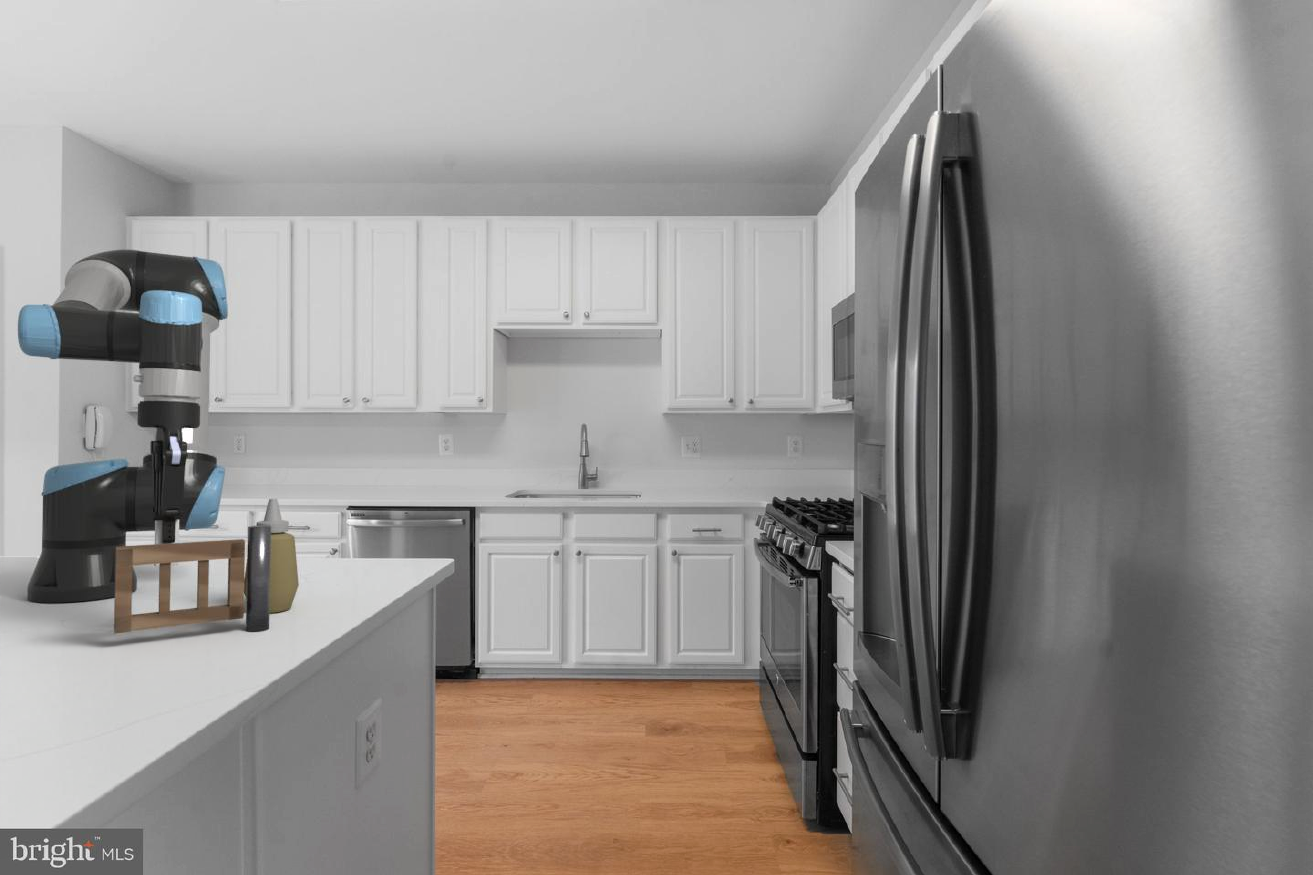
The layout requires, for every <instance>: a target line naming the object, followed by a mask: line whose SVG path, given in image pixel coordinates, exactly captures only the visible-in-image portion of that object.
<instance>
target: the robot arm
mask: <svg viewBox="0 0 1313 875" xmlns="http://www.w3.org/2000/svg"><path fill="white" fill-rule="evenodd" d="M119 310H120V311H119ZM125 311H129V312H125ZM134 312H135V313H134ZM136 312H137V313H136ZM228 314H229V312H228V299H227V288H226V281H225V275H224V271H223V268H222V266H221V265H220V263H218V262H217V261H215V260H212V259H206V258H199V257H198V256H185V255H177V254H168V253H161V252H160V253H159V252H158V253H157V252H151V251H150V252H149V251H142V250H137V249H112V250H106V251H103V252H97V253H95V254H94V253H93V254H92V255H89V256H86V257H83V258H81V259H80V260H79V261H77V262H75V263H74V264H73V265H72V266H71V267H70V268H69V269H68V271H67V272H66V274H65V277H64V289H63V290H62V291H61V293H60V295H59V296H58V297H57V298H56V300H55V301H54V302H53V303H52V305H50V304H46V303H45V304H26V305H23V306H22V307H21V309H20V310H19V313H18V319H17V339H18V345H19V348H20V350H21V352H22V353H23V354H24V355H27V356H29V357H38V358H48V359H50V360H57V359H58V360H79V361H99V362H115V363H117V362H119V363H131V364H134V363H135V364H138V370H139V371H138V374H135V375H134V376H133V381H134V383H139V385H138V396H139V397H140V398H143V400H142V401H139V402H138V403H137V425H138V426H139V427H140V428H151V429H153V430H154V431H153V440H150V448H149V451H148V452H147V453H145V454H144V455H143V458H142V466H130V465H129V462H128V460H127V458H116V459H106V460H104V459H103V460H98V461H97V460H96V461H94V460H93V461H87V462H86V461H85V462H77V463H67V464H61V465H55V466H53V467H50V468H49V469H48V470H46V471H45V473H44V477H43V486H42V487H43V488H42V492H41V494H40V495H41V497H42V523H41V524H42V526H41V528H42V529H41V530H42V531H41V533H42V534H41V553H40V555H39V558H38V561H37V563H36V565H35V568H34V570H33V572H32V574H31V577H30V579H29V582H28V585H27V589H26V590H27V593H26V594H27V595H26V596H27V600H28V601H31V602H34V603H35V602H36V603H74V602H76V603H77V602H87V601H95V600H103V599H110V598H115V554H116V547H120V546H127V545H126V544H127V543H126V542H127V540H126V539H127V533H129V532H131V533H132V532H137V533H139V532H154V544H170V543H180V542H179V541H180V531H181V530H184V531H188V532H189V530H201V529H208V528H211V527H213V526H214V525H215V524H216V522H217V521H218V518H219V517H218V516H219V511H220V505H221V500H222V494H223V488H224V481H225V480H224V479H225V474H226V467H225V466H222V465H218V462H217V461H218V458H217V456H216V455H215V454H214V453H213V452H211V451H210V449H209V408H210V407H209V406H210V405H209V403H210V363H211V362H210V361H211V360H210V359H211V334H212V333H214V331H216V330H218V328H219V327H220V321H223V320H226V319H227V318H228V316H229V315H228ZM153 565H154V566H155V567H158V568H159V565H160V564H153ZM178 565H179V562H174V563H171V566H178ZM137 586H138V578H137V574H136V571H135V569H134V566H133V567H132V593H133V592H136V590H137V588H138V587H137Z"/></svg>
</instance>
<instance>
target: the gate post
mask: <svg viewBox="0 0 1313 875" xmlns="http://www.w3.org/2000/svg"><path fill="white" fill-rule="evenodd" d="M246 557H247V558H246V564H247V600H246V599H245V600H246V601H245V602H246V603H245V604H246V605H245V606H246V607H245V608H246V611H245V614H246V615H245V631H246V632H249V633H256V632H264V631H268V630H269V629H270V613H269V610H270V561H271V526H265V525H261V526H256V525H250V526H248V527H247V556H246Z"/></svg>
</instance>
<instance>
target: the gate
mask: <svg viewBox="0 0 1313 875" xmlns="http://www.w3.org/2000/svg"><path fill="white" fill-rule="evenodd" d="M245 558H246V540H245V539H243V538H241V539H239V538H238V539H224V540H223V539H221V540H206V541H205V540H204V541H193V542H192V541H189V542H179V543H170V544H155V543H154V544H153V543H152V544H142V545H141V544H139V545H126V546H120V547H116V554H115V597H114V602H113V603H114V611H113V612H114V613H113V614H114V615H113V617H114V618H113V633H114V634H116V635H117V634H124V633H131V632H133V631H142V630H151V629H152V630H153V629H159V628H168V627H169V628H170V627H176V626H185V625H194V624H195V625H196V624H203V623H204V624H205V623H212V622H219V621H233V620H243V619H244V618H245V617H244V615H245V614H244V612H245V609H244V608H245V606H244V605H245V594H244V579H245V570H246V566H245V564H246V563H245V560H246V559H245ZM226 559H227V560H228V562H227V566H228V567H227V602H226V603H227V604H220V605H209V581H210V580H209V576H210V575H209V574H210V561H212V560H226ZM174 562H178V563H185V562H197V582H196V583H197V588H196V589H197V590H196V592H197V595H196V607H193V608H192V607H191V608H183V609H182V608H181V609H174V610H173V609H171V574H172V573H171V570H172V569H171V568H172V565H171V563H174ZM154 564H160V565H159V567H158V568H159V573H158V574H159V575H158V576H159V577H158V578H159V579H158V611H154V612H145V613H136V614H135V613H134V614H132V607H133V606H132V604H133V601H132V600H133V592H132V567H133V568H134V566H143V565H146V566H147V565H154Z"/></svg>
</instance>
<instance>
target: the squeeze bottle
mask: <svg viewBox="0 0 1313 875" xmlns="http://www.w3.org/2000/svg"><path fill="white" fill-rule="evenodd" d="M281 515H282V514H281V511H280V506H279V501H278V498H269V499H268V502H267V506H266V511H265V514H264V517H263V520H260V521H257V522H256V525H255V526H261V525H265V526H271V561H270V610H269V614H274V613H275V614H276V613H280V612H285V611H287V610H290V609H291V608H292V605H293V603H294V600H295V597H296V594H297V592H298V588H299V586H300V584H299V573H298V572H299V571H298V563H297V560H298V559H297V553H296V539H295V536H294V535H293V534H291V533H288V532H289V521H288V520H284V519H282V516H281ZM245 564H246V566H245V570H244V598H245V600H247V563H245Z"/></svg>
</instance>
